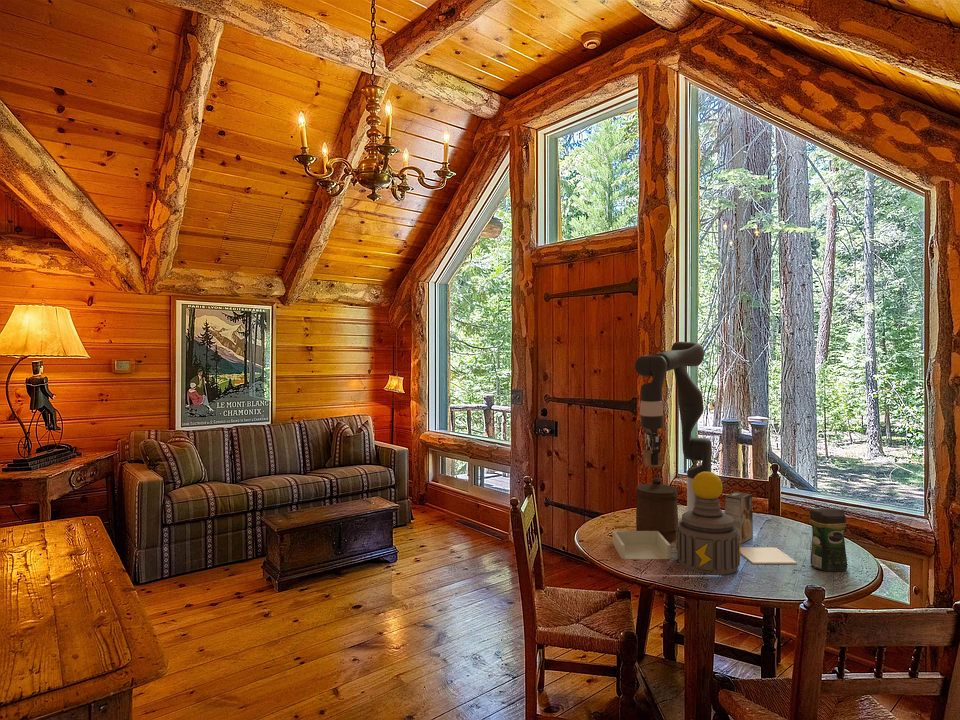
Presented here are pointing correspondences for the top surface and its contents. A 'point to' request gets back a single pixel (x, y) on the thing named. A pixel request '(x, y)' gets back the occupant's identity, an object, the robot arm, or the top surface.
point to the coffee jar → (828, 539)
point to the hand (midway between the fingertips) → (652, 462)
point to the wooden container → (657, 509)
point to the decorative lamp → (708, 531)
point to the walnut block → (648, 459)
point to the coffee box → (740, 513)
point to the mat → (766, 556)
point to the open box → (641, 545)
